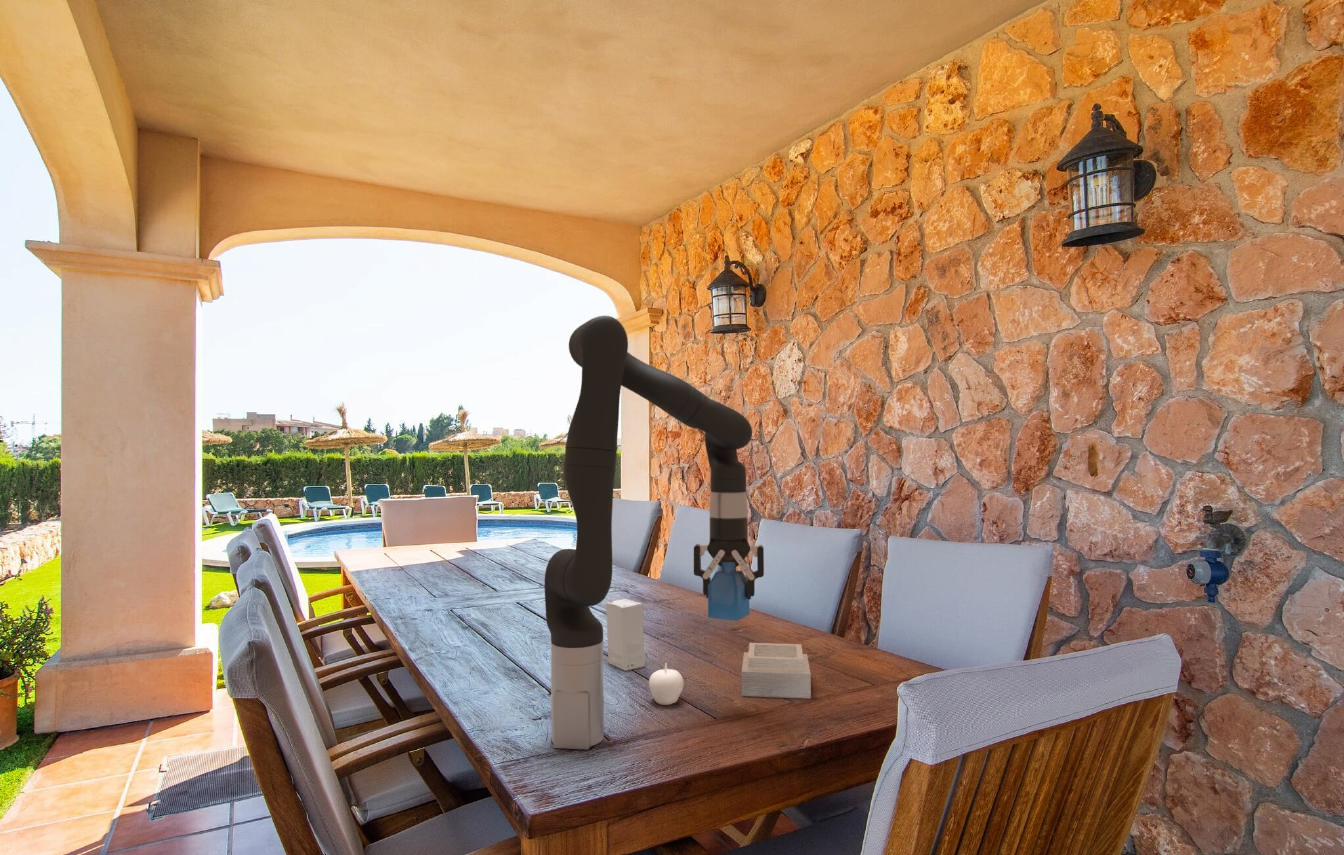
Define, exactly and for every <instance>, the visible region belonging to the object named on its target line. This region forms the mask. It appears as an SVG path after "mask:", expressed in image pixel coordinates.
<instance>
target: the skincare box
mask: <svg viewBox="0 0 1344 855" xmlns="http://www.w3.org/2000/svg"><path fill="white" fill-rule="evenodd" d="M605 607H606V631H607V652H608V653H607V654H608V664H610V665H612V666H613V667H616V668H619V669H621V670H622V671H630V670H634V669H635V670H636V669H641V668H645V667H646V650H645V634H644V633H645V632H644V615H643V613H644V612H643V611H644V610H643V603H642V602H638V601H635V600H632V599H627V598H622V599H617V600H616V599H615V600H612V601H607V602H605Z"/></svg>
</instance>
